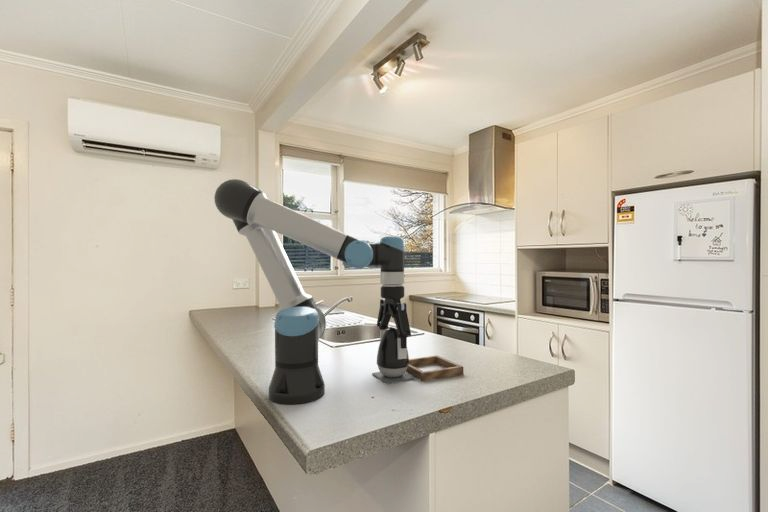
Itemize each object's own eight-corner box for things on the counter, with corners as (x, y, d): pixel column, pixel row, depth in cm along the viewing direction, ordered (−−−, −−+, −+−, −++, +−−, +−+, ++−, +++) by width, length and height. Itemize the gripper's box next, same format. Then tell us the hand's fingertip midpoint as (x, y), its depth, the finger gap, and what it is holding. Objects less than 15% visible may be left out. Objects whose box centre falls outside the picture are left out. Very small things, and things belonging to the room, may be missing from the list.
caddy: (422, 381, 113) (422, 373, 113) (398, 368, 127) (398, 360, 127) (463, 374, 120) (463, 366, 120) (436, 362, 134) (436, 355, 134)
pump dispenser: (410, 380, 112) (410, 330, 112) (375, 380, 113) (376, 330, 112) (408, 369, 123) (409, 323, 122) (377, 369, 123) (377, 323, 122)
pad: (385, 384, 111) (385, 382, 111) (372, 374, 120) (372, 372, 120) (414, 379, 115) (414, 377, 115) (399, 370, 124) (399, 368, 124)
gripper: (422, 287, 108) (422, 361, 108) (386, 282, 130) (387, 344, 130) (399, 288, 105) (400, 365, 105) (366, 283, 127) (367, 346, 127)
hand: (392, 353), depth 118 cm, fingers open, 12 cm apart
